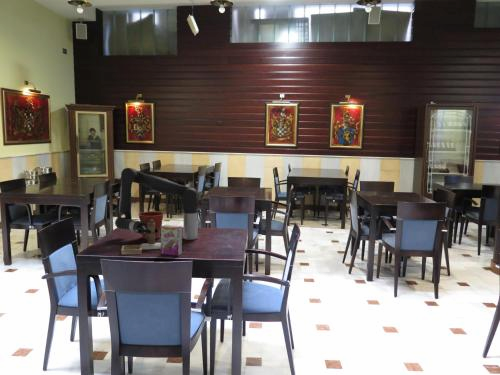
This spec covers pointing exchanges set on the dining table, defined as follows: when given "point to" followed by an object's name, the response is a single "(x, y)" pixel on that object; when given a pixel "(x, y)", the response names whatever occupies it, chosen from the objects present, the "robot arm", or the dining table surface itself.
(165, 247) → the candy bar box
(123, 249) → the collar
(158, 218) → the flower pot
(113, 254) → the dining table surface
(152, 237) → the pepper mill
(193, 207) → the robot arm
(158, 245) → the mat
